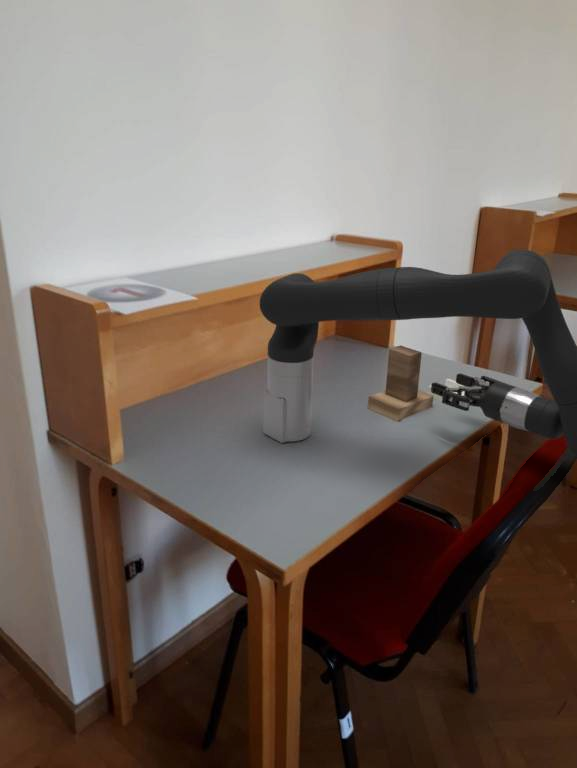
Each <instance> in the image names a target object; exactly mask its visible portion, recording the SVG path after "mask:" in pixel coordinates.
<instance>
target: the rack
mask: <svg viewBox="0 0 577 768" xmlns="http://www.w3.org/2000/svg"><path fill="white" fill-rule="evenodd" d="M431 385H432V384H430V385H428V388H427V392H428V393H427V392H426V393H427V394H430V395H432V396H433V397H434V398H437V399H439V400H442V396H439V395H437V394H434V393H432V392H431ZM444 386H447V387H450V388H458V387H459V386H463V385H460V384H457V383H456V380H454V379H450V378H446V379H445V383H444ZM465 387H466V386H465ZM464 392H465V391H463V392H462V394H461V395H462V396H464ZM453 393H456V394H457V392H453ZM439 400H438V401H439Z"/></svg>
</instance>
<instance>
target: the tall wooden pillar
mask: <svg viewBox="0 0 577 768" xmlns="http://www.w3.org/2000/svg"><path fill="white" fill-rule="evenodd" d="M422 353H423V352H422V351H419V350H416V349H413V348H410V347H407V346H404V345H397V346H394V347H391V348H388V355H387V356H388V358H387V371H386V382H385V383H386V385H385V391H386V393H385V394H386V395H389V396H391V397H393V398H396V399H398V400H401V401H403V402H408V401H411V400H413V399H416V398H417V394H418V390H419V383H420V375H421V374H420V373H421V372H420V371H421V363H422V355H423V354H422Z"/></svg>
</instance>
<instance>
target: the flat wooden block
mask: <svg viewBox="0 0 577 768" xmlns="http://www.w3.org/2000/svg"><path fill="white" fill-rule="evenodd" d="M385 393H386V390H383V391H380V392H377V393H374V394H371V395H368V403H367V409H369V410H370V411H373V412H375V413H376V414H379V415H381V416H384V417H386V418H389V419H391V420H394V421H396V422H400V421H402V419H405V418H406V417H409V416H412V415H414V414H416V413H419V412H422V411H425V410H427V409H430V408H432V407H433V403H434V399H433V396H432V395H430V394H427V392H424V391H422V390H419V389H418V394H417V398H416V399H413V400H411V401H408V402H403V401H401V400H398V399H396V398H393V397H391V396H389V395H386V394H385Z"/></svg>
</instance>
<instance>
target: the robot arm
mask: <svg viewBox="0 0 577 768" xmlns="http://www.w3.org/2000/svg"><path fill="white" fill-rule="evenodd" d="M259 309H260V312H261V313H262V315H263V317H264V318H265V319H266V320H267V321H268V322H270V323H271V324H273V325H274V326H275V328H274V331H273V333H272V335H271V337H270V339H269V340H268V343H267V388H266V389H267V390H265V391H263V419H262V421H263V429H262V430H263V431H262V432H263V434H265V435H266V436H269V437H270V438H271V439H274V440H276V442H279V443H280V444H283V443H287V442H290V443H292V442H299V441H300V442H301V441H303V440H305V439H308V438H309V437H310V435H311V434H312V409H313V407H312V406H313V383H314V382H313V381H314V378H313V377H314V354H315V353H314V351H315V348H316V347H315V346H316V344H317V341H318V334H319V326H320V325H319V324H320V323H321V322H330V321H331V322H332V321H333V322H334V321H340V322H341V321H343V322H346V321H347V322H368V321H369V322H371V321H374V322H375V321H377V322H379V321H382V322H384V321H385V322H386V321H387V322H389V321H407V320H416V319H417V320H420V319H438V318H439V319H440V318H453V317H455V318H456V317H461V318H462V317H467V318H469V317H470V318H483V319H484V318H487V319H501V320H502V319H503V320H504V319H505V320H517V319H521V320H522V321H523V323H524V325H525V327H526V330H527V332H528V334H529V337H530V339H531V342H532V346H533V348H534V351H535V355H536V359H537V362H538V366H539V369H540V372H541V375H542V377H543V379H544V382H545V384H546V386H547V388H548V391H549V392H550V394H551V396H552V398H553V399H551V398H547V397H544V396H541V395H539V394H537V393H535V392H533V391H531V390H530V391H529V390H527V389H524V388H520V387H518V386H514V385H512V384H509V383H506V382H503V381H500V380H497V379H494V378H492V377H489V376H486V375H481V376H480V377H478V376H473V377H472V376H469V375H466V374H464V373H462V372H461V373H457V374H456V376H455V381H456V383H457V384H460V385H463V386H459V387H458V388H450V387H447V386H445V384H441V383H438V382H432V383H431V384H430V385H431V392H432V393H434V394H437V395H439V396H442V402H441V403H442V404H443V405H447V406H450V407H452V408H455V409H459V410H462V411H465V412H468V411H469V410H470V407H477V408H480V409H481V411H482V413H483V415H484V416H485V417H486V418H489V419H491V420H494V421H497V422H499V423H501V424H505V425H506V426H509V427H512V428H515V429H519V430H523V431H526V432H530V433H532V434H535V435H537V436H540V437H544V438H546V439H550V440H556V439H559V438H561V437H564V440H565V443H566V445H567V448H568V450H569V451H570V453H571V454H572V455H573V456H574V457H575V458H576V459H577V344H576V341H575V339H574V337H573V336H572V334H571V331H570V329H569V326H568V324H567V322H566V319H565V317H564V313H563V312H562V308H561V306H560V303H559V300H558V296H557V294H556V289H555V286H554V282H553V279H552V274H551V270H550V266H549V265H548V262H547V261H546V260H545V258H543V256H541V255H540V254H539V253H537V252H535V251H533V250H530V249H514V250H512V251H510V252H508V253H506V254H504V256H502V257H501V258H500V259H499V260H498V262H497V263H496V266H495V268H494V269H493V270H487V271H483V272H474V273H466V274H451V273H449V274H448V273H443V272H438V271H434V270H430V269H426V268H422V267H416V266H399V267H387V268H379V269H373V270H367V271H363V272H358V273H354V274H350V275H346V276H343V277H339V278H336V279H331V280H325V281H314V280H313V279H312V278H311V277H309V276H308V275H307V274H303V273H299V272H297V273H291V274H288V275H286V276H283V277H281V278H278V279H276V280H273V281H272V282H271V283H270V284H268V285H267V286H266V287H265V288H264V289H263V290H262V293H261V295H260V298H259ZM465 386H466V387H465ZM463 391H465V392H464V396H462V395H461V394H462V392H463ZM453 392H457V394H456V393H453Z"/></svg>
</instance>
